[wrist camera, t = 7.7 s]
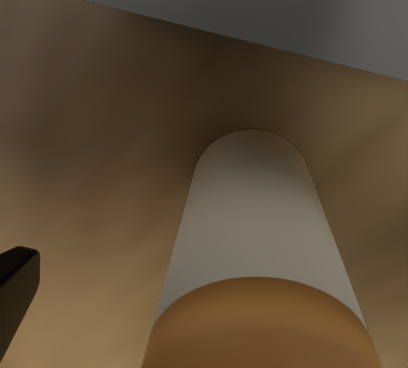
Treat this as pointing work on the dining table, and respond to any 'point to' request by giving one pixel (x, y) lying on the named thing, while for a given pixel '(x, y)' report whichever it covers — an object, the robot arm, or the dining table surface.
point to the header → (299, 27)
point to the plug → (256, 269)
